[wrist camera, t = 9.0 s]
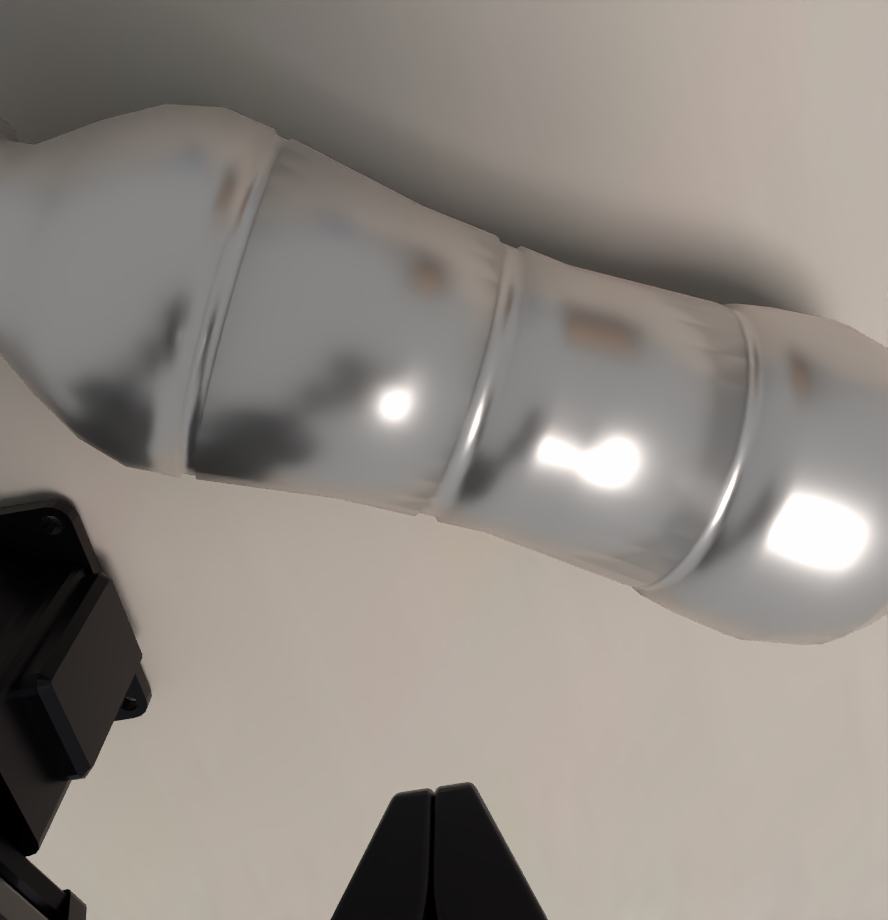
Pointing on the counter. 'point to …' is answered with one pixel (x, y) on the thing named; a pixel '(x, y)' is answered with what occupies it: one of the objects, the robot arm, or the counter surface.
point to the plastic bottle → (441, 371)
